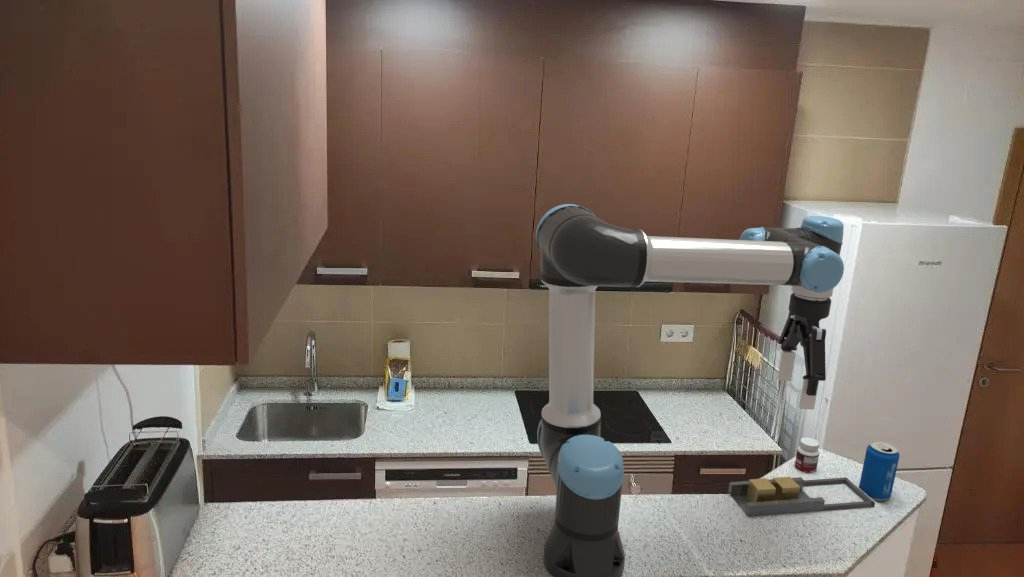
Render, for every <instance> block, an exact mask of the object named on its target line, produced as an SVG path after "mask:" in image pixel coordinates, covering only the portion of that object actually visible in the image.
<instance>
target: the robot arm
mask: <svg viewBox="0 0 1024 577" xmlns="http://www.w3.org/2000/svg"><path fill="white" fill-rule="evenodd" d="M843 239H844V223H843V221H841V220H840V219H837V218H834V217H829V216H822V215H809V216H808V215H807V216H804V218H802V222H801V224H800V227H764V226H760V227H751V228H747V229H745V230H744V231H743V232H742V233H741V235H740V237H739V239H728V238H727V239H726V238H725V239H724V238H722V239H721V238H704V237H703V238H702V237H701V238H700V237H699V238H698V237H697V238H696V237H678V236H675V237H674V236H654V235H647V234H646V233H645V232H644V230H642V229H633V228H625V227H620V226H616V225H613V224H611V223H608V222H606V221H604V220H603V219H601V218H599V217H598V216H596V215H595V214H594V213H593V212H592V210H590V209H588V208H586V207H584V206H581V205H577V204H573V203H565V204H560V205H557V206H554V207H552V208H550V209H549V210H548V211H546V213H544V215H543V216H541V218H540V220H539V221H538V223H537V227H536V230H535V242H536V246H537V248H538V251H539V253H540V281H541V282H542V284H544V286H545V287H547V288H548V309H549V310H548V321H549V322H548V323H549V324H548V327H549V328H548V342H549V343H548V345H549V346H548V353H549V354H548V361H549V362H548V368H549V369H548V371H549V372H548V373H549V374H548V376H549V378H548V381H549V382H548V384H549V385H548V389H549V390H548V391H549V392H548V394H549V395H548V396H549V397H548V399H549V401H548V403H547V404H545V405H544V407H543V408H542V409H541V419H540V421H539V423H538V427H537V431H536V435H537V437H536V440H537V447H538V449H539V452H540V454H541V456H542V458H543V459H544V462H545V465H546V467H547V469H548V470H547V471H549V474H550V477H551V479H552V483H553V484H554V487H555V493H556V498H555V511H554V512H555V515H554V516H555V517H554V522H553V524H552V526H551V529H550V530H549V533H548V536H547V538H546V540H545V543H544V547H543V555H542V556H543V557H542V558H543V564H544V567H545V569H546V570H547V571H549V572H550V573H551V574H552V575H553V576H554V577H621V576H622V574H623V573H624V570H625V561H626V556H625V555H626V554H625V550H624V545H623V541H622V538H621V536H620V532H619V520H620V512H621V511H620V510H621V500H622V491H623V482H624V477H625V473H624V470H625V469H624V458H623V456H622V453H621V451H620V450H619V449H618V447H617V446H616V445H615V444H614V443H613V442H611V441H609V440H607V441H606V440H605V438H603V437H602V436H601V419H602V418H601V417H602V416H601V410H600V408H599V407H598V406H597V405H596V404H595V403H594V379H595V377H594V376H595V367H594V366H595V331H596V330H595V329H596V328H595V327H596V326H595V324H596V323H595V322H596V289H597V288H598V287H608V288H609V287H611V288H613V287H614V288H615V287H617V288H619V287H620V288H625V287H626V288H639V287H641V286H642V285H644V283H645V282H653V283H654V282H655V283H656V282H658V283H661V282H665V283H690V284H691V283H693V284H694V283H696V284H697V283H699V284H730V285H761V286H762V285H766V286H769V285H770V286H772V285H773V286H790V287H791V288H790V289H791V291H792V293H791V294H790V297H789V298H790V299H789V304H788V311H789V312H788V315H787V319H786V321H785V324H784V326H783V328H782V331H781V334H780V337H779V339H778V344H779V345H780V349H781V355H780V360H779V366H778V373H777V381H782V382H792V377H793V370H794V364H795V359H796V353H797V352H796V351H798V345H799V344H800V347H802V348H803V357H804V358H803V359H804V366H805V368H804V369H805V374H804V375H802V379H803V381H802V386H801V392H800V397H799V398H800V399H799V402H798V408H799V409H800V410H815V406H816V401H817V400H816V399H817V396H818V389H819V383H820V381H822V382H823V381H824V382H825V381H826V380H827V379H826V378H827V377H826V376H827V372H826V368H827V367H826V336H827V329H826V328H821V327H820V321H821V320H823V319H827V318H828V317H829V315H830V311H831V306H832V300H831V297H833V293H834V288H836V287H837V286H838V285H839V284H840V282H841V280H842V279H843V274H844V270H845V266H844V261H843V259H842V258H841V250H842V245H843ZM549 572H548V573H549ZM550 573H549V574H550ZM551 574H550V575H551ZM552 575H551V576H552ZM553 576H552V577H553Z"/></svg>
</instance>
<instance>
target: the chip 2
mask: <svg viewBox="0 0 1024 577" xmlns="http://www.w3.org/2000/svg"><path fill="white" fill-rule="evenodd" d="M792 478H793V477H791V476H780V477H772V479H773V480H772V485H773V486H774V487H775V488H776V492H775V499H774V501H778V500H792V499H798V497H799V491H800V486H799V485H798V484H797V483H796V482H795V481H794V480H793V479H792Z"/></svg>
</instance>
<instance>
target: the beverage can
mask: <svg viewBox="0 0 1024 577" xmlns="http://www.w3.org/2000/svg"><path fill="white" fill-rule="evenodd" d="M899 460H900V453H899V448H898V446H896V445H895V444H893V443H891V442H889V441H885V440H880V439H879V440H878V439H875V440H871V441H870V442H869V444H868V445H867V446H866V449H865V456H864V460H863V465H862V470H861V475H860V479H859V485H858V488H859V489H860V490H861V491H862V492H863V493H865V494H866V495H867V496H868V497H869V498H870V499H871V500H872V501H877V502H879V501H880V502H881V501H885V500H888V499H890V498H891V497H892V492H893V489H894V483H895V479H896V474H897V470H898V465H899Z"/></svg>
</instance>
